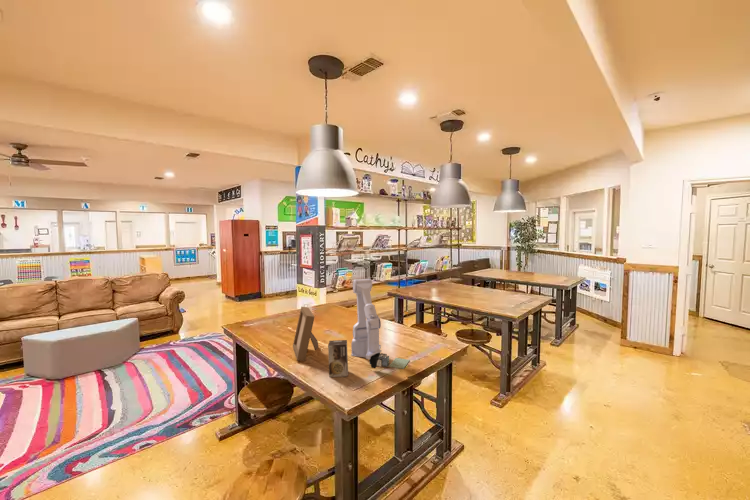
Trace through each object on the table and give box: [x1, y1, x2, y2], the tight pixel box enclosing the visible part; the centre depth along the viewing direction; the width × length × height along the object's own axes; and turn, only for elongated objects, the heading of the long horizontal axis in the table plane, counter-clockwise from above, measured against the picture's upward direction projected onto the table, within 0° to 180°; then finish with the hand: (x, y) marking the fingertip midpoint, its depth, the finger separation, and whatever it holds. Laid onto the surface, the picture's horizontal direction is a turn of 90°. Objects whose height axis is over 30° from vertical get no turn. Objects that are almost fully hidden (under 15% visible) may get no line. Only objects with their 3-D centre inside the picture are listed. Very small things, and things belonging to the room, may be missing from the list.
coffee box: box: [327, 339, 349, 378], centre depth 156 cm, size 9×6×16 cm
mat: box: [388, 357, 410, 370], centre depth 167 cm, size 8×11×1 cm
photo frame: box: [292, 306, 319, 362], centre depth 183 cm, size 15×22×25 cm
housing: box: [379, 355, 390, 368], centre depth 166 cm, size 10×3×5 cm, turn 67°
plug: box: [376, 352, 388, 367], centre depth 168 cm, size 4×8×4 cm, turn 157°
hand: (373, 367), depth 159 cm, fingers closed
